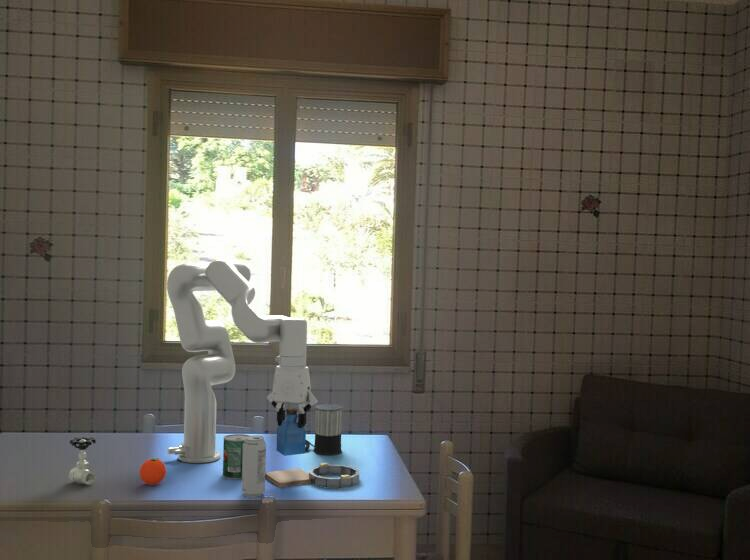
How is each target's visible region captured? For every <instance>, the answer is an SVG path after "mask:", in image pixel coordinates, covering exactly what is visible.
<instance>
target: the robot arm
mask: <svg viewBox="0 0 750 560" xmlns="http://www.w3.org/2000/svg"><path fill="white" fill-rule="evenodd" d="M250 280H251V269H250V267H249V266H248V264H246V262H244V261H242V260H240V259H239V260H238V259H217V260H213V261H211V262H210V263H184V264H178V265H176V266H175V267H174V268H172V269H171V271H170V272H169V274H168V277H167V281H166V290H167V296H168V298H169V300H170V304H171V307H172V310H173V312H174V318H175V323H176V327H177V328H176V329H177V331H178V337H179V341H180V345H181V347H182V349H183V350H185V351H186V352H189V353H201V352H205V351H207V354H203V355H195V356H193V357H190V358H188V359H187V360H186V361H185V362H184V363H183V365H182V368H181V377H182V384H183V389H184V392H183V393H184V419H183V421H184V422H183V423H184V425H183V426H184V427H183V428H184V429H183V433H184V434H183V442H181V443H180V445H178V446H177V447H174V446H173V447H168V448H167V454H168V455H177V457H178V460H179V461H181V462H184V463H189V464H204V463H211V462H215V461H218V460H219V459H220V458H221V453H220V451H217V450H216V439H217V438H216V435H217V431H216V430H217V398H216V394H215V392H214V390H213V388H212V386H214V385H219V384H220V385H221V384H226V383H228V382H230V381H232V379H233V378H234V377H235V374H236V362H235V357H234V351H233V348H232V343H231V339H230V335H229V334H230V333H229V332H228V329H227V327H226V326H225V325H224V323H223V322H221V321H219V320H216V319H215V320H214V319H211V320H206V318H205V316H204V311H203V306H202V304H201V302H200V301H199V299H198V298H197V296H195V294H194V293H193V292H205V291H206V292H208V291H217V293H218V294H219V295H220V296H221V297H222V298H223V299H224V301H226V302H227V303H228V304H229V305H230V307H231V310H230V311H231V317H232V320H233V322H234V325H235V327H236V328H237V329H238V330H239V331H240V332H241V333H242V335H244V336H245V337H246V338H247V339H248V340H249V341H250V342H253V343H256V344H266V343H275V342H276V343H277V342H279V355H278V356H275V358H274V360H275V362H277V363H278V365H276V366H275V371H274V377H273V382H272V383H273V384H272V391H270V393H268V395H267V396H266V399H267V400H268V401H269V403H271V405H272V406H273V408H274V410H275V412H276V422H277V427H278V426H281V424H282V420H286V417H285V414H286V409H284V408H285V404H291V405H292V404H294V405H298V410H299V413H298V418H297V419H298V427H299V428H302V427H304V428H305V426H306V425H307V413H309V411H310V410H311V409H312V407H315V406H316V405H317V404H318V399H317V398H316V396H314V394H313V392H312V391H311V377H310V370H309V367H308V366H307V349H308V348H307V346H308V344H307V342H308V341H307V338H308V336H307V335H308V322H307V320H306V319H304V318H301V317H288V316H285V315H280V314H279V315H277V314H275V315H261V316H259V314H257V313H256V311H254V310H253V308H252V307H251V306H250V304H252V302H253V300H254V298H255V295H256V290H255V288H254V286H253V285H252V284H251V283H250ZM309 401H310V402H309ZM307 402H309V403H307Z"/></svg>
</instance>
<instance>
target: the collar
mask: <svg viewBox="0 0 750 560" xmlns="http://www.w3.org/2000/svg"><path fill="white" fill-rule="evenodd" d="M308 474H309V478H311V483H310V484H311V485H313V484H314V485H313V486H315V485H317V487H320V486H321V487H320V488H324V487H326V488H327V487H330V488H329V489H345V488H350V487H353V486H356V485H358V484H360V470H359V469H357V468H356V467H353V466H348V465H344V464H329V463H328V462H321V463H319V465H317V466H314V467H312V468H310V469H309V472H308ZM319 475H320V476H319ZM327 475H340V476H339V477H325V476H327Z"/></svg>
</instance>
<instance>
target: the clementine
mask: <svg viewBox="0 0 750 560" xmlns="http://www.w3.org/2000/svg"><path fill="white" fill-rule="evenodd" d="M166 475H167V468H166V465H165V463H164V462H163V461H162V460H161V459H159V457H153V458H150V459H147V460H146V461H144V462H143V463H142V464H141V465H140V468H139V476H140V479H141V481H142V482H143V483H145V484H146V485H149V486H155V485H159V484H160V483H161V482H162V481H163V480H164V479H165V477H166Z"/></svg>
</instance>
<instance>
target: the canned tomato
mask: <svg viewBox="0 0 750 560" xmlns="http://www.w3.org/2000/svg"><path fill="white" fill-rule="evenodd" d="M247 436H250V435H249V434H243V433H235V434H227V435H224V437H223V449H222V450H223V452H222V453H223V455H222V457H223V459H222V477H223V478H225V479H227V480H242V460H243V443H244V441H245V438H246V437H247Z"/></svg>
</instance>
